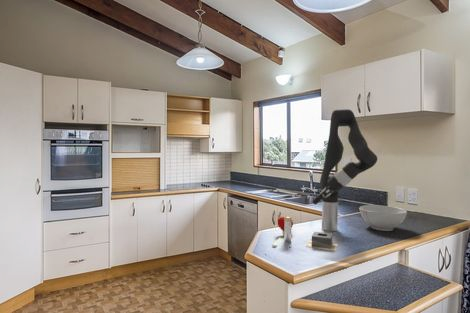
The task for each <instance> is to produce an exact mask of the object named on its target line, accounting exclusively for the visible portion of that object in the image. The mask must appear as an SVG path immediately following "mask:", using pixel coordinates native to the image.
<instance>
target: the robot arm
mask: <svg viewBox="0 0 470 313" xmlns="http://www.w3.org/2000/svg"><path fill="white" fill-rule="evenodd" d="M339 127H348V128H349V132H348V136H347V138H348V139H347V140H348V143H349V145H350V146H351V148H352V149H353V153H354V156H355V158H356V159H357V160H358V161H356V162H354V161H349V162H348V163H346V164H345V165H344V166H343V167H342V168H341V169H340V170H338V171H336V173H335V172H334V174H331V175H330V173H331V172H332V170H333V169H334V168H336V166H337V165H338V164H339V163H340V162H341V161H342V158H343V154H344V144H343V142H342V141H341V139H340V136H339ZM326 146H327V147H326V151H325V157H324V164H323V167H322V168H323V169H322V171H321V175H320V180H319V188H320V189H321V190H322V191H320V194H318V195H317V196H316V197H315V198H314V199H313V200H312V203H313V204H314V205H317V204H318V203H319V202H322V203H321V229H322V230H323V231H327V232H337V231H338V225H339V224H338V222H339V215H338V214H339V195H340V191H342V190H343V189H344V188H346V186H348V185H349V183H350V182H352V180H354V179H355V178H356V177H357V176H358V175H359V174H362V173H363V172H365V171H367V170H369V169H371V168H372V167H374V166H375V165H376V164H377V162H378V155H376V154H375V153H374V152H373V151H372V150H371V149H370V148H369V145H368V142H367V140H366V138H365V137H364V135H363V134H362V133H361V130H360V127H359V124H358V121H357V119H356V116H355V113H354V111H352V110H351V109H348V108H347V109H346V108H345V109H343V108H342V109H338V108H337V109H333V111H331V116H330V126H329V135H328V140H327V144H326Z"/></svg>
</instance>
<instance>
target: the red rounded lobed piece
mask: <svg viewBox="0 0 470 313" xmlns="http://www.w3.org/2000/svg"><path fill="white" fill-rule="evenodd" d="M285 217H286V216H281V217H279V218H278V219H277V226H278V228H279V229H280V230H281V231H282V235H283V236H284V223H285ZM293 226H294V222H293V220H291V229H292V228H293Z"/></svg>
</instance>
